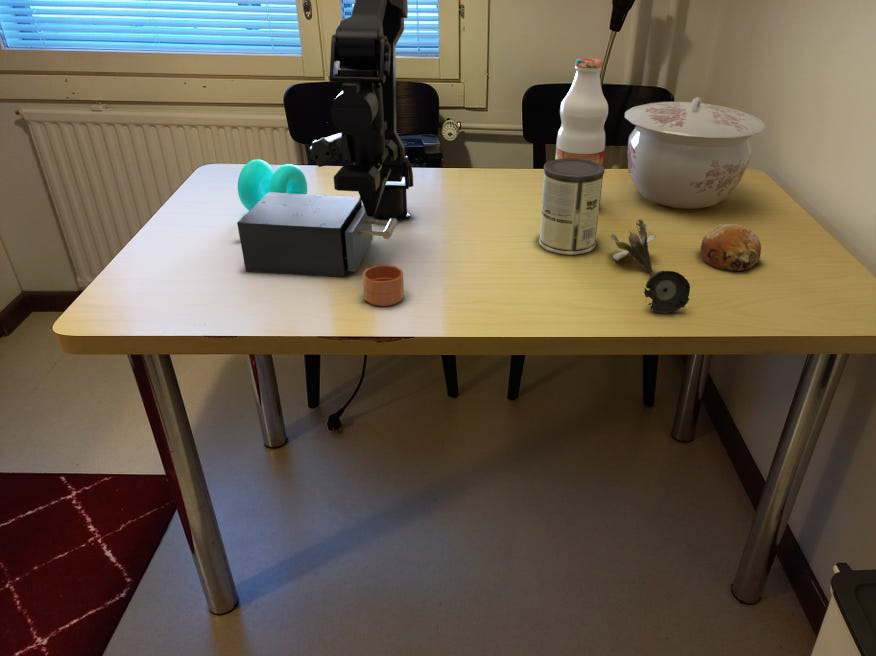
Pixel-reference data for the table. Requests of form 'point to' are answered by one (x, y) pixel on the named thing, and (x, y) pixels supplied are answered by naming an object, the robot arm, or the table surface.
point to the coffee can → (570, 205)
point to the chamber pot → (688, 151)
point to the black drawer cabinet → (297, 234)
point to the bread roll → (731, 247)
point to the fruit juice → (583, 115)
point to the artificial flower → (664, 285)
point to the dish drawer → (362, 236)
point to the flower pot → (383, 285)
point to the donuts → (268, 181)
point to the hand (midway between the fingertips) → (371, 215)
